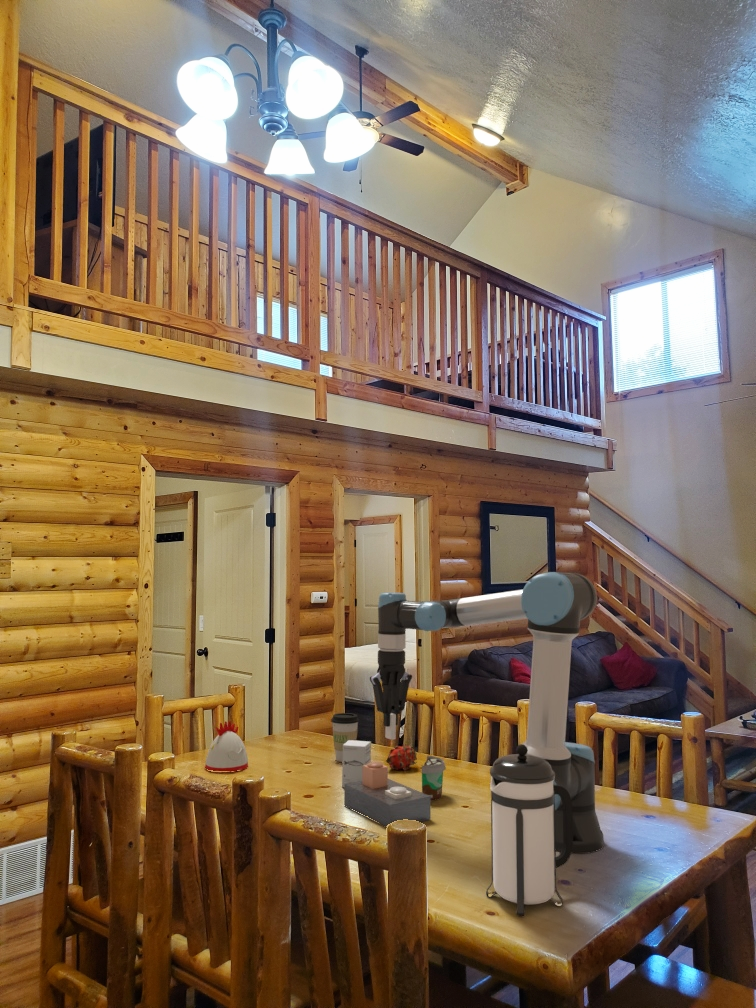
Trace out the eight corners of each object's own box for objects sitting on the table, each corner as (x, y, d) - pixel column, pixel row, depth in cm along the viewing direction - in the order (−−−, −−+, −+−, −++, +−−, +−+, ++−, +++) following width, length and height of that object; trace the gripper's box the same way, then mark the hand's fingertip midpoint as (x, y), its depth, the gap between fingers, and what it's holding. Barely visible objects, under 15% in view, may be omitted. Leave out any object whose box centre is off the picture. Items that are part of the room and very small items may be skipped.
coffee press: (563, 925, 132) (560, 757, 135) (478, 910, 138) (476, 749, 141) (574, 887, 148) (571, 737, 151) (497, 875, 154) (495, 731, 157)
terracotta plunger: (387, 789, 199) (387, 764, 199) (372, 792, 196) (372, 767, 196) (377, 784, 203) (377, 760, 203) (362, 787, 200) (362, 763, 201)
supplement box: (341, 787, 217) (341, 744, 218) (348, 781, 224) (348, 739, 225) (365, 789, 215) (365, 746, 216) (371, 782, 222) (371, 740, 224)
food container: (443, 804, 202) (443, 767, 203) (421, 802, 203) (421, 765, 204) (447, 791, 214) (447, 756, 215) (427, 789, 215) (427, 755, 216)
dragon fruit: (419, 772, 240) (389, 782, 234) (406, 752, 246) (376, 762, 240) (425, 754, 236) (395, 765, 230) (412, 735, 242) (382, 744, 236)
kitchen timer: (197, 766, 240) (198, 720, 241) (233, 760, 249) (234, 715, 251) (218, 775, 230) (220, 727, 231) (255, 768, 239) (256, 721, 240)
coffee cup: (327, 757, 253) (328, 713, 255) (354, 755, 256) (354, 712, 258) (334, 764, 244) (334, 718, 245) (362, 762, 247) (362, 717, 248)
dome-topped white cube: (411, 815, 189) (411, 789, 190) (395, 819, 186) (395, 792, 187) (400, 810, 193) (400, 785, 194) (384, 814, 190) (385, 788, 191)
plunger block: (430, 819, 189) (430, 796, 189) (389, 829, 182) (390, 804, 182) (382, 798, 207) (383, 776, 208) (344, 806, 200) (344, 783, 200)
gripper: (402, 647, 203) (401, 732, 201) (364, 649, 196) (362, 738, 194) (418, 649, 197) (418, 738, 195) (379, 652, 190) (378, 744, 188)
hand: (390, 738), depth 194 cm, fingers closed
